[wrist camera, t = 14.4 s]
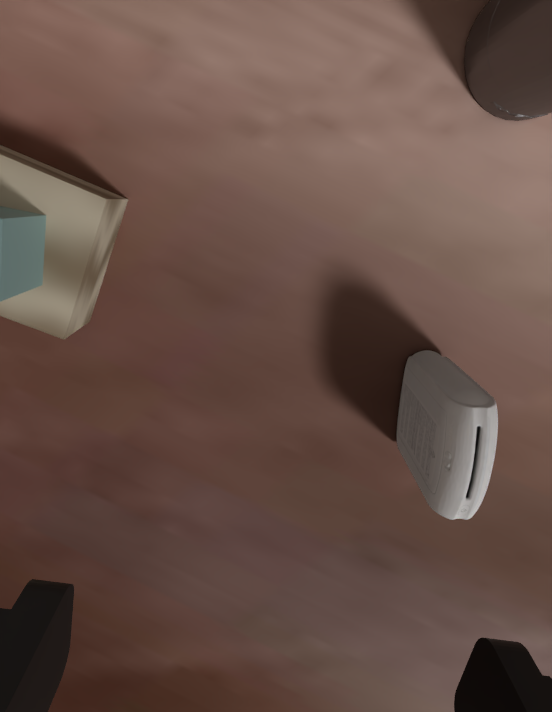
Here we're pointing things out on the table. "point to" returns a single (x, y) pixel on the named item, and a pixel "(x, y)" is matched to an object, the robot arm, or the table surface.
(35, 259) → the teal block
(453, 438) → the photo printer
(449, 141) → the table surface
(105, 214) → the birch block
